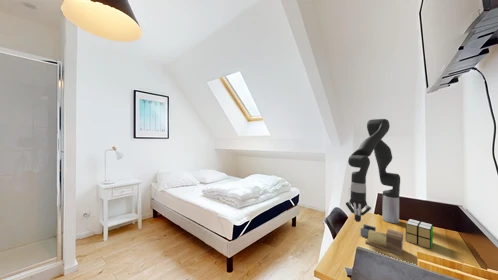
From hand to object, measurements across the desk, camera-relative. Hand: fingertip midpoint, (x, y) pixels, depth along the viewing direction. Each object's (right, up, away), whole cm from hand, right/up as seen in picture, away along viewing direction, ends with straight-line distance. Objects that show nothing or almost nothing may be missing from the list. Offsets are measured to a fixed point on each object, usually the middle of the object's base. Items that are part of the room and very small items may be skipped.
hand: (357, 221), depth 106 cm
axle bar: (+9, -9, -8) cm, 15 cm away
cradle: (+9, -10, +4) cm, 14 cm away
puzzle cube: (+32, -10, -3) cm, 34 cm away
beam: (+9, -10, -8) cm, 15 cm away
